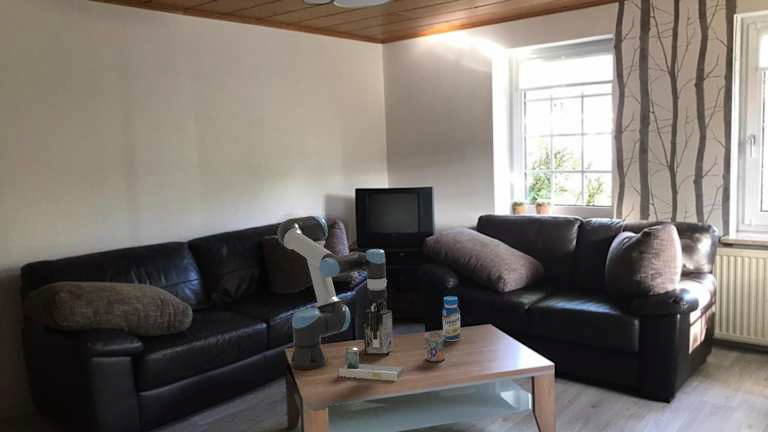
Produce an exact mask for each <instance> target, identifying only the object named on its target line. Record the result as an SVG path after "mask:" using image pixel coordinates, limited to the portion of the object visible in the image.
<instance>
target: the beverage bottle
mask: <svg viewBox="0 0 768 432" xmlns="http://www.w3.org/2000/svg"><path fill="white" fill-rule="evenodd" d="M443 305H444V306H443V309H442V317H441V319H442V333H443V334H445V338H444V341H447V342H455V341H456V342H457V341H459V340H460V339H461V338H462V337H461V315H460V313H461V310H460V308H459V307H458V305H459V299H458V297H457V296H453V295H452V296H451V295H448V296H444V297H443Z"/></svg>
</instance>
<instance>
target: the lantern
mask: <svg viewBox="0 0 768 432" xmlns="http://www.w3.org/2000/svg"><path fill="white" fill-rule="evenodd" d="M369 300H370V299H369V298H367V301H369ZM387 304H388V301H387V300H386V310H388V305H387ZM366 305H367V307H366V310H369V303H367V304H366ZM363 341H364V356H390V353H391V351H392V350H390V351H388V352H385V353H381V352H377V351H372V350H368V349H367V335H366V323H365V324H364V325H363Z"/></svg>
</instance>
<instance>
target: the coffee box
mask: <svg viewBox="0 0 768 432" xmlns="http://www.w3.org/2000/svg"><path fill="white" fill-rule="evenodd" d="M392 311H393V310H389V309H387V310H381V312H380V313H377V316H378V322H379V326H378V331H379V337H380V347H373V338H372V331H370V308H368V310H367V309H366V310H365V324H366V335H367V349H368V350H372V351H377V352H381V353H385V352H388V351H390V350H391V351H392V350H394V340H393V315H392V314H393V312H392ZM391 351H390V352H391Z"/></svg>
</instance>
